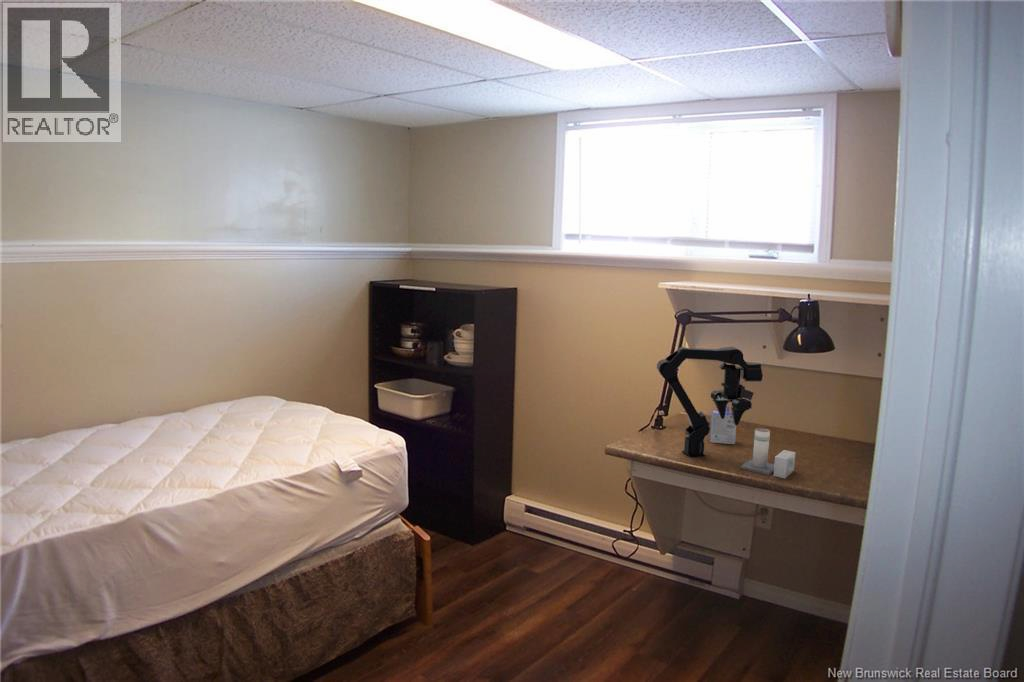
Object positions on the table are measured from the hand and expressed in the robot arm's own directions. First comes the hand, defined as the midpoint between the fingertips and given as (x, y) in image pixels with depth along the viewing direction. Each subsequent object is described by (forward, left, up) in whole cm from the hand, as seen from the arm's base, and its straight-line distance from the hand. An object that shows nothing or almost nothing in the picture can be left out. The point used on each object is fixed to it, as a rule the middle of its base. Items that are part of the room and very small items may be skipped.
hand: (729, 421), depth 267 cm
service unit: (+8, -23, -13) cm, 27 cm away
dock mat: (+3, -16, -13) cm, 21 cm away
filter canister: (+3, -16, -12) cm, 20 cm away
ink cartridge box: (+8, +16, -13) cm, 22 cm away
